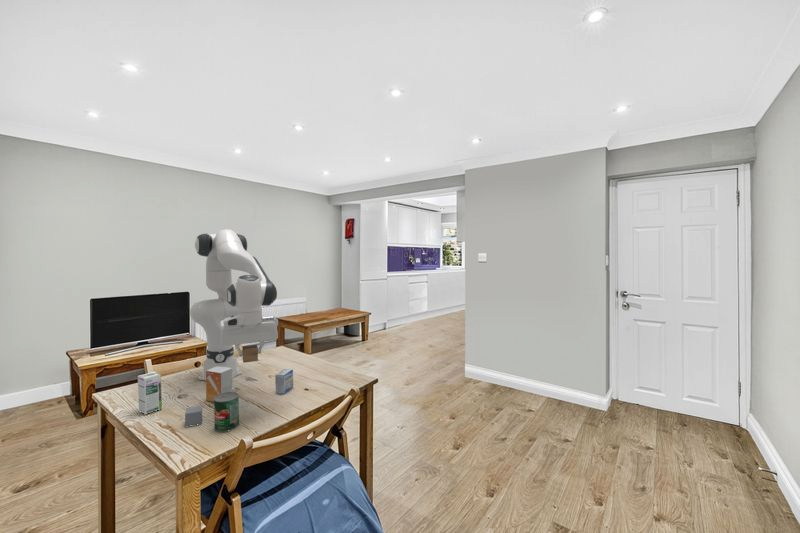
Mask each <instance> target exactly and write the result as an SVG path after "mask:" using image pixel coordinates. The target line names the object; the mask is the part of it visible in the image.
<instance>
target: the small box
mask: <svg viewBox="0 0 800 533" xmlns="http://www.w3.org/2000/svg"><path fill="white" fill-rule="evenodd" d="M205 382H206V383H205V385H206V386H205V394H206V395H205V397H206V398H205V401H206V402H211V403H214V397H215V396H217V395H219V394H222V393H226V392H234V391H233V378H232V368H227V367H220V366H217V367H214V368H211V369H209V370H207V371H206V380H205Z"/></svg>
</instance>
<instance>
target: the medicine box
mask: <svg viewBox="0 0 800 533" xmlns="http://www.w3.org/2000/svg"><path fill="white" fill-rule="evenodd" d="M274 376H275V379H274V380H275V385H274V386H275V394H278V395H279V394H280V395H285V394H287V393H288V392H289V391H290V390H292V389H293V388H294V369H292V368H284V369H283V370H281V371H279V372H278V373H275V375H274Z"/></svg>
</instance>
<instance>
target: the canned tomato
mask: <svg viewBox="0 0 800 533" xmlns="http://www.w3.org/2000/svg"><path fill="white" fill-rule="evenodd" d="M239 396H240V395H239V393H238V392H235V391H233V392H226V393H222V394H219V395H217V396H215V397H214V402H213V404H214V405H213V407H214V408H213V409H214V410H213V411H214V412H213V413H214V414H213V415H214V430H215V432H217V431H220V432H219V433H223V432H222V431H227V432H229V431H228V430H231V431H233V430H235V429H237V428H238V427H239V426H240V413H239V412H240V409H239V408H240V406H239V404H240V402H239V401H240V400H239ZM232 429H233V430H232Z"/></svg>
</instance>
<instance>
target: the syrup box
mask: <svg viewBox="0 0 800 533" xmlns="http://www.w3.org/2000/svg"><path fill="white" fill-rule="evenodd" d="M137 388H138V389H137V390H138V391H137V392H138V394H137V395H138V411H141V412H143V413H144V414H147V413H150V412H153V411H156V412H158V411H157V410H159V411H161V410H160V409H163V405H162V404H163V403H162V402H163V401H162V400H163V399H162V376H161V373H159V372H157V371H151V372H148V373H145V374H140V375H137ZM141 412H140V413H141ZM153 413H154V412H153ZM144 414H143V415H144ZM150 414H151V413H150Z"/></svg>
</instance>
